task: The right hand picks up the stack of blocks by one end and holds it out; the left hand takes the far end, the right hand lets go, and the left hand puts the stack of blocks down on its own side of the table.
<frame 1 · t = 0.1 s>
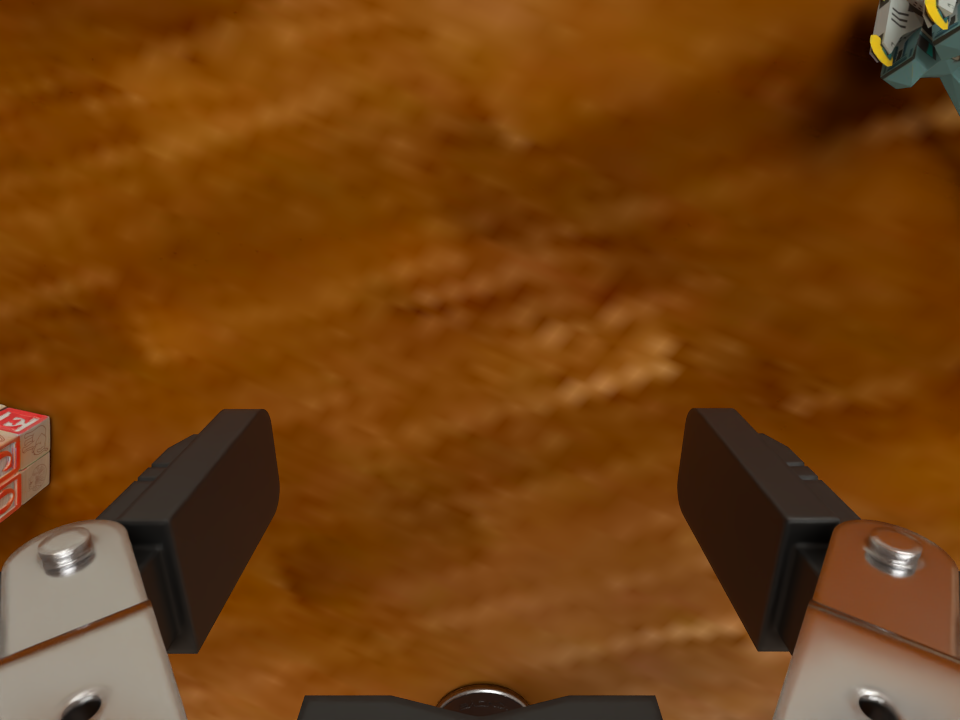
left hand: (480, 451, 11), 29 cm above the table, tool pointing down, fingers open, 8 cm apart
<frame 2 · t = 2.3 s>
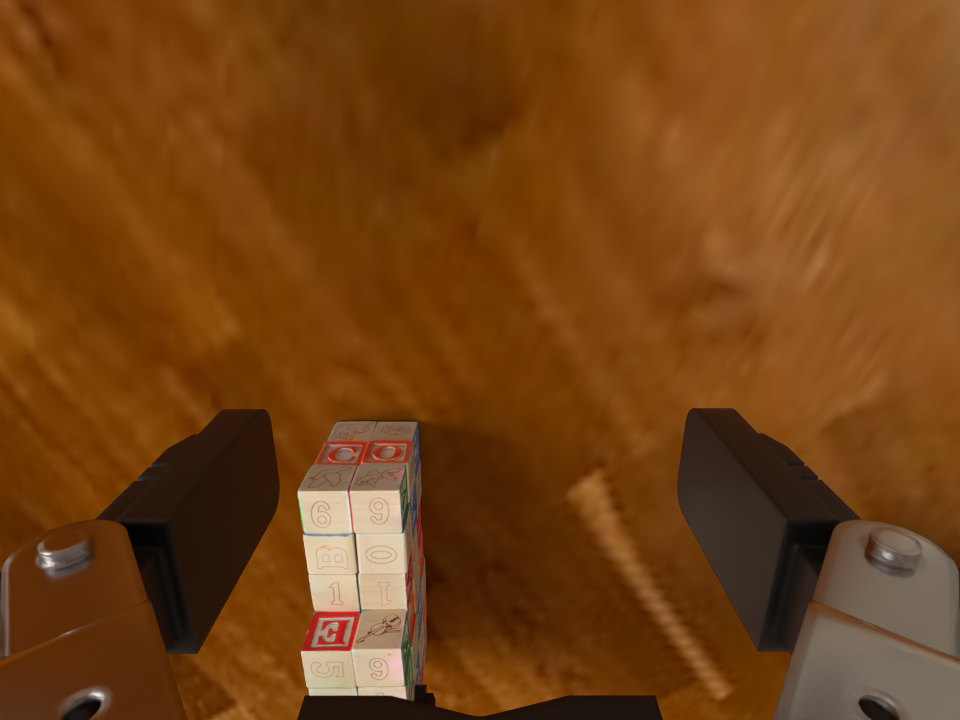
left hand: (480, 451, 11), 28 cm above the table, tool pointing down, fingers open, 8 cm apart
stack of blocks: (385, 539, 46), on the table, touching right hand
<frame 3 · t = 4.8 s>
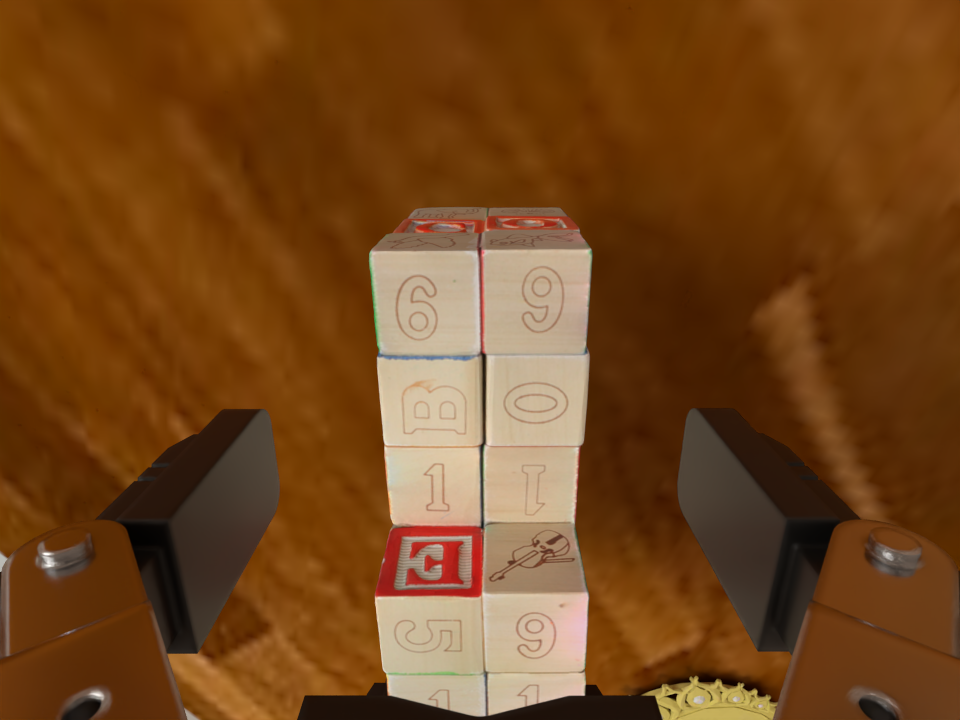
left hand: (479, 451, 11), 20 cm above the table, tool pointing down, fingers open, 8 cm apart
stack of blocks: (486, 432, 28), point 5 cm above the table, touching right hand
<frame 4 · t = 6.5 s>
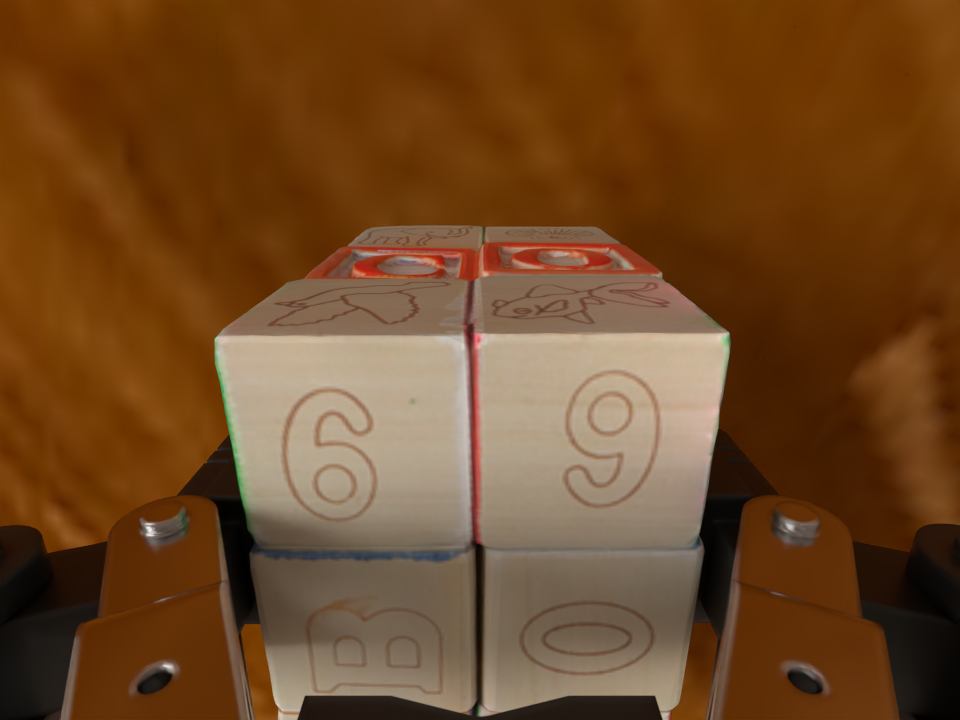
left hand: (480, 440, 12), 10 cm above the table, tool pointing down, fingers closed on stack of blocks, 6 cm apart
stack of blocks: (480, 554, 19), point 5 cm above the table, touching left hand, right hand
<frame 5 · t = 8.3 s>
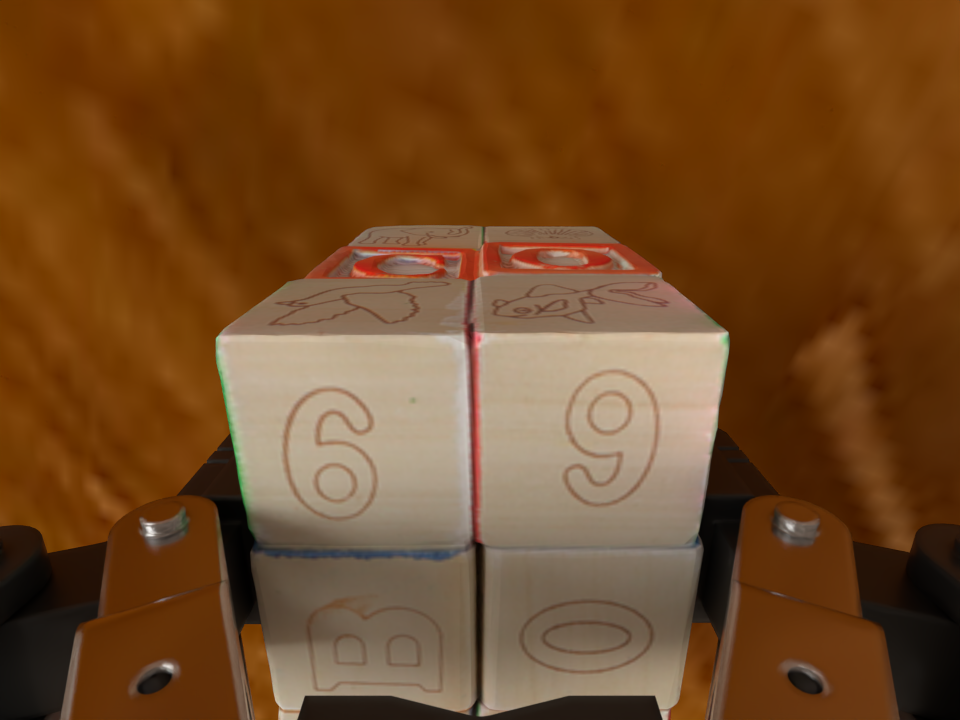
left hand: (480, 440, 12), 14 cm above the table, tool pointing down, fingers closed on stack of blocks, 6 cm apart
stack of blocks: (479, 553, 19), point 8 cm above the table, touching left hand
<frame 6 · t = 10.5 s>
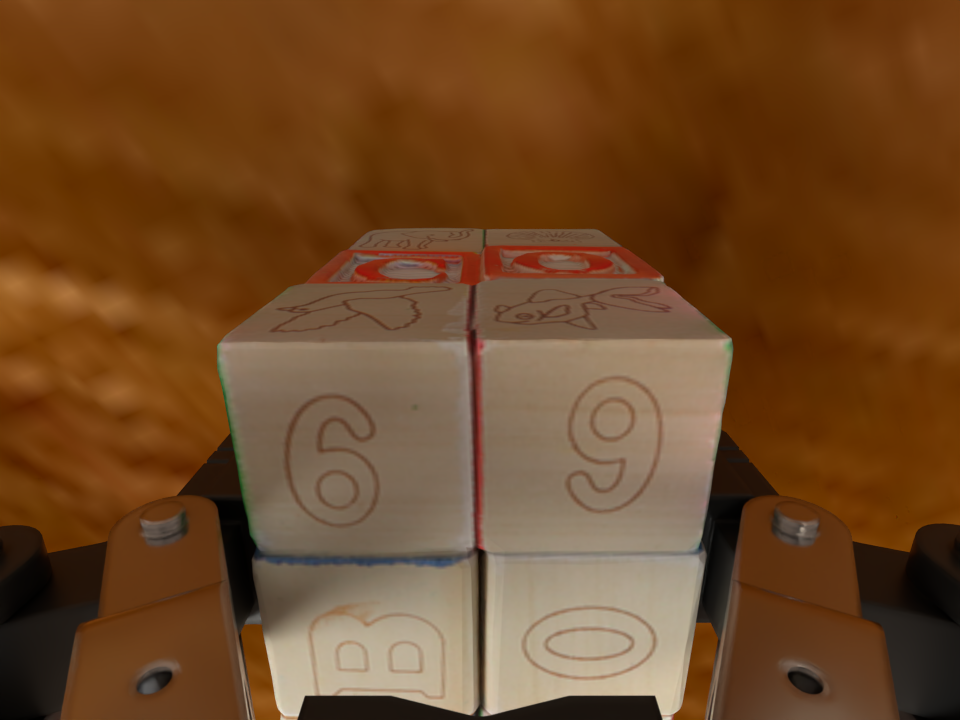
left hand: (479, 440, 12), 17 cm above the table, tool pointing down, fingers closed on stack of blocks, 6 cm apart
stack of blocks: (481, 556, 19), point 12 cm above the table, touching left hand
when the left hand's fingers open (6 cm above the table, at t = 14.8 s): stack of blocks stays where it is, on the table.
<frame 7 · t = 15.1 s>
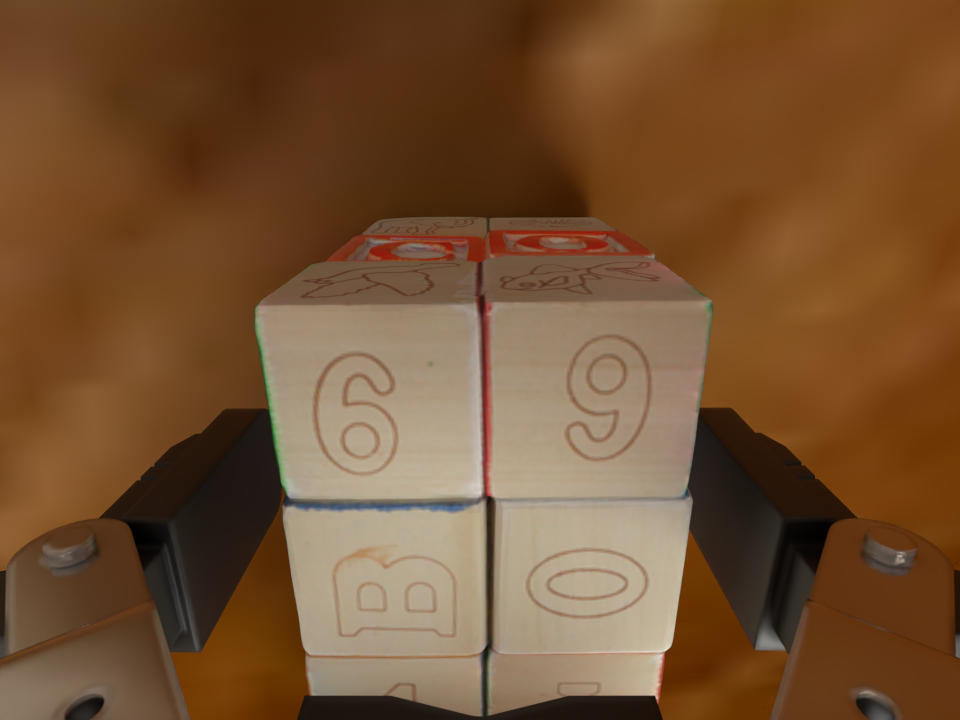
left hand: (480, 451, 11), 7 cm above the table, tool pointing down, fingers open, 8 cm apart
stack of blocks: (484, 533, 20), on the table
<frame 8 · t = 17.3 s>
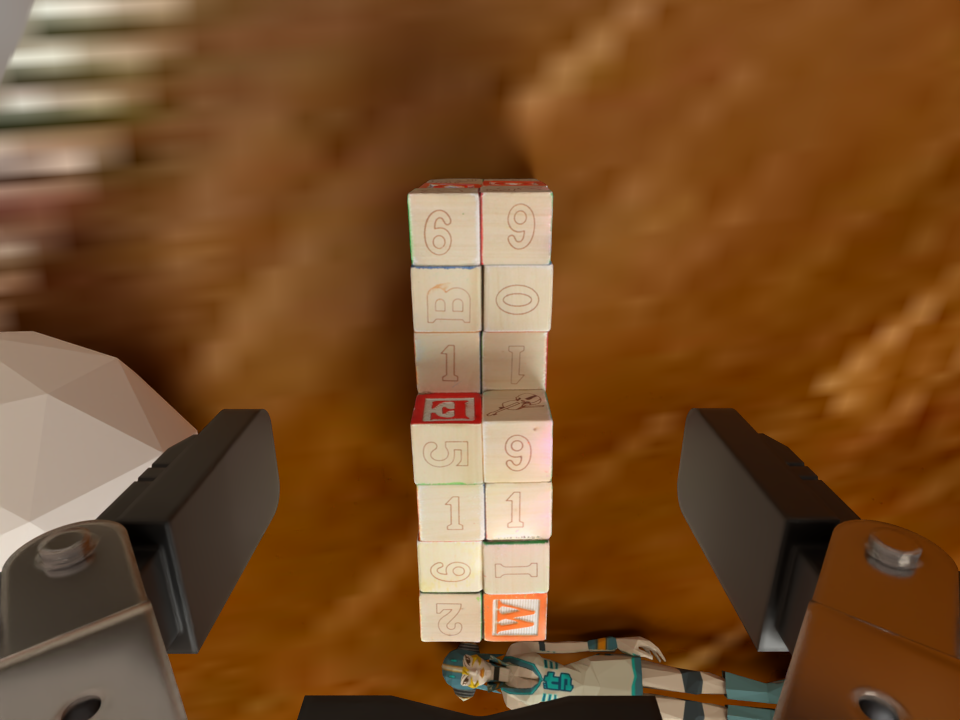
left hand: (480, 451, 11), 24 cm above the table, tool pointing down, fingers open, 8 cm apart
sphere: (108, 432, 38), on the table
stack of blocks: (481, 356, 36), on the table
figurine: (636, 662, 45), on the table
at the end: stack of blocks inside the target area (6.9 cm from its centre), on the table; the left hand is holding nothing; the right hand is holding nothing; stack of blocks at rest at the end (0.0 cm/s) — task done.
